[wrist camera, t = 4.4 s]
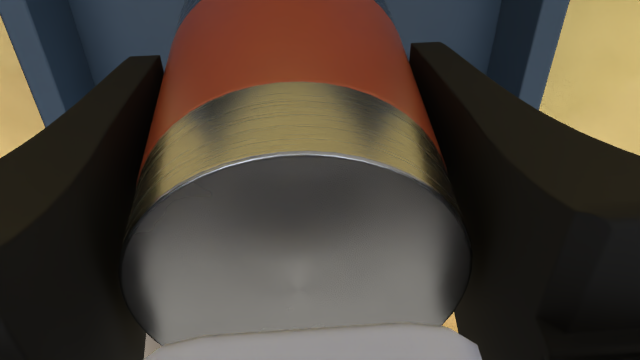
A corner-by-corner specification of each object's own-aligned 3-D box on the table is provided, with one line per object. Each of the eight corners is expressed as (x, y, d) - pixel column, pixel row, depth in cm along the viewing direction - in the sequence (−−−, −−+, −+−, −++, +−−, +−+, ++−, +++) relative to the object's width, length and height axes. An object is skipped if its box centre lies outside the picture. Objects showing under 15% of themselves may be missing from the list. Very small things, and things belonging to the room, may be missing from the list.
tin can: (422, -40, 12) (535, 175, 7) (365, 146, 16) (415, 388, 10) (180, -82, 12) (108, 127, 6) (172, 124, 15) (120, 375, 10)
